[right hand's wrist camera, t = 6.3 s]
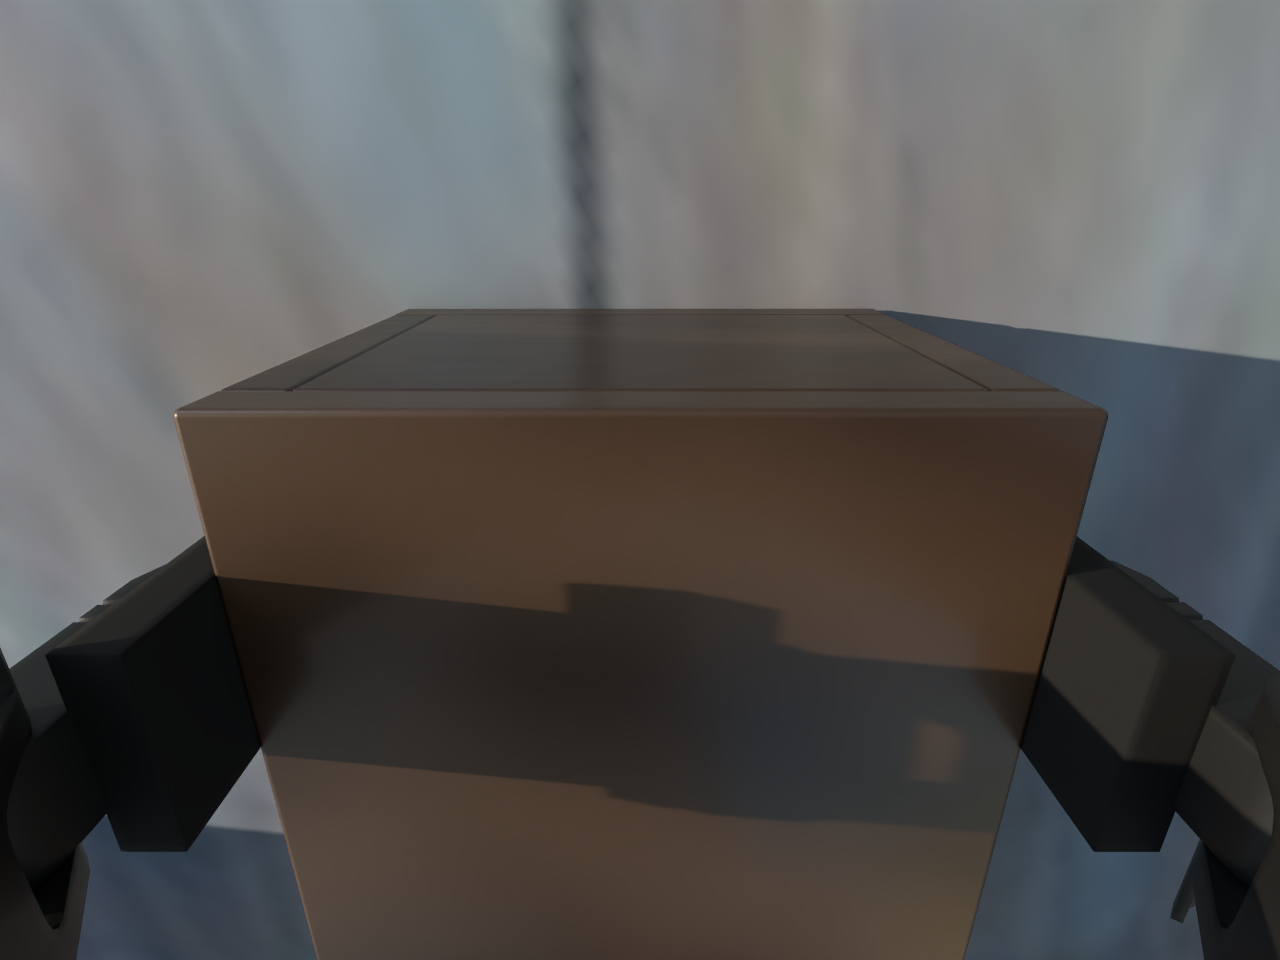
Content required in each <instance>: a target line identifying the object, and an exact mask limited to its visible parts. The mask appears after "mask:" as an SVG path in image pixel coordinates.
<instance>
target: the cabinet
mask: <svg viewBox="0 0 1280 960" xmlns="http://www.w3.org/2000/svg"><path fill="white" fill-rule="evenodd" d="M173 418H174V421H175V425H176V429H177V433H178V436H179V440H180V444H181V448H182V452H183V455H184V459H185V463H186V467H187V470H188V474H189V478H190V482H191V485H192V489H193V493H194V497H195V500H196V504H197V508H198V512H199V516H200V519H201V523H202V527H203V531H204V534H205V538H206V542H207V546H208V549H209V553H210V557H211V561H212V565H213V568H214V572H215V576H216V580H217V583H218V587H219V591H220V595H221V598H222V602H223V606H224V610H225V613H226V617H227V621H228V625H229V629H230V632H231V636H232V640H233V644H234V647H235V651H236V655H237V659H238V662H239V666H240V670H241V674H242V677H243V681H244V685H245V689H246V693H247V696H248V700H249V704H250V708H251V711H252V715H253V719H254V723H255V726H256V730H257V734H258V738H259V742H260V745H261V749H262V753H263V757H264V760H265V764H266V768H267V772H268V775H269V779H270V783H271V787H272V790H273V794H274V798H275V802H276V806H277V809H278V813H279V817H280V821H281V824H282V828H283V832H284V836H285V839H286V843H287V847H288V851H289V855H290V858H291V862H292V866H293V870H294V873H295V877H296V881H297V885H298V888H299V892H300V896H301V900H302V903H303V907H304V911H305V915H306V919H307V922H308V926H309V930H310V934H311V937H312V941H313V945H314V949H315V952H316V956H317V960H964V958H965V954H966V950H967V947H968V943H969V939H970V935H971V932H972V928H973V924H974V920H975V916H976V913H977V909H978V905H979V901H980V898H981V894H982V890H983V886H984V883H985V879H986V875H987V871H988V867H989V864H990V860H991V856H992V852H993V849H994V845H995V841H996V837H997V834H998V830H999V826H1000V822H1001V818H1002V815H1003V811H1004V807H1005V803H1006V800H1007V796H1008V792H1009V788H1010V785H1011V781H1012V777H1013V773H1014V769H1015V766H1016V762H1017V758H1018V754H1019V751H1020V747H1021V743H1022V739H1023V736H1024V732H1025V728H1026V724H1027V720H1028V717H1029V713H1030V709H1031V705H1032V702H1033V698H1034V694H1035V690H1036V687H1037V683H1038V679H1039V675H1040V671H1041V668H1042V664H1043V660H1044V656H1045V653H1046V649H1047V645H1048V641H1049V638H1050V634H1051V630H1052V626H1053V622H1054V619H1055V615H1056V611H1057V607H1058V604H1059V600H1060V596H1061V592H1062V589H1063V585H1064V581H1065V577H1066V574H1067V570H1068V566H1069V562H1070V558H1071V555H1072V551H1073V547H1074V543H1075V540H1076V536H1077V532H1078V528H1079V525H1080V521H1081V517H1082V513H1083V509H1084V506H1085V502H1086V498H1087V494H1088V491H1089V487H1090V483H1091V479H1092V476H1093V472H1094V468H1095V464H1096V460H1097V457H1098V453H1099V449H1100V445H1101V442H1102V438H1103V434H1104V430H1105V427H1106V423H1107V419H1108V414H1107V411H1106V410H1105V409H1102V408H1100V407H1098V406H1095V405H1093V404H1091V403H1088V402H1086V401H1084V400H1081V399H1079V398H1077V397H1075V396H1072V395H1070V394H1068V393H1065V392H1063V391H1060V390H1059V389H1057V388H1054V387H1052V386H1050V385H1047V384H1045V383H1043V382H1040V381H1038V380H1036V379H1033V378H1031V377H1029V376H1026V375H1024V374H1022V373H1020V372H1017V371H1015V370H1013V369H1010V368H1008V367H1006V366H1003V365H1001V364H999V363H996V362H994V361H992V360H989V359H987V358H985V357H982V356H980V355H978V354H975V353H973V352H971V351H968V350H966V349H964V348H961V347H959V346H957V345H954V344H952V343H950V342H947V341H945V340H943V339H940V338H938V337H936V336H933V335H931V334H929V333H926V332H924V331H922V330H919V329H917V328H915V327H913V326H910V325H908V324H906V323H903V322H901V321H899V320H896V319H894V318H892V317H889V316H887V315H886V314H883V313H881V312H879V311H876V310H874V309H408V310H406V311H403V312H401V313H399V314H396V315H395V316H393V317H390V318H388V319H386V320H383V321H381V322H379V323H376V324H374V325H372V326H369V327H367V328H365V329H362V330H360V331H358V332H355V333H353V334H351V335H348V336H346V337H344V338H341V339H339V340H337V341H334V342H332V343H330V344H327V345H325V346H323V347H320V348H318V349H316V350H313V351H311V352H309V353H306V354H304V355H302V356H299V357H297V358H295V359H292V360H290V361H288V362H285V363H283V364H281V365H278V366H276V367H274V368H271V369H269V370H267V371H264V372H262V373H260V374H257V375H255V376H253V377H250V378H248V379H246V380H243V381H241V382H239V383H236V384H234V385H232V386H229V387H227V388H225V389H222V390H221V391H218V392H216V393H214V394H211V395H209V396H207V397H204V398H202V399H200V400H197V401H195V402H193V403H190V404H188V405H186V406H183V407H181V408H179V409H177V410H175V412H174V417H173Z"/></svg>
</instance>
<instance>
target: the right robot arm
mask: <svg viewBox="0 0 1280 960" xmlns="http://www.w3.org/2000/svg"><path fill="white" fill-rule="evenodd" d="M260 747H261V745H260V742H259V738H258V734H257V730H256V726H255V723H254V719H253V715H252V711H251V708H250V704H249V700H248V696H247V693H246V689H245V685H244V681H243V677H242V674H241V670H240V666H239V662H238V659H237V655H236V651H235V647H234V644H233V640H232V636H231V632H230V629H229V625H228V621H227V617H226V613H225V610H224V606H223V602H222V598H221V595H220V591H219V587H218V583H217V580H216V576H215V572H214V568H213V565H212V561H211V557H210V553H209V549H208V546H207V542H206V538H205V536H204V537H203V538H201V539H200V540H198V541H197V542H196V543H194V544H193V545H192V546H190V547H189V548H188V549H186V550H185V551H184V552H182V553H181V554H180V555H178V556H177V557H176V558H174V559H173V560H172V561H170V562H169V563H168V564H166V565H164V566H162V567H159V568H157V569H155V570H153V571H151V572H149V573H146V574H144V575H142V576H140V577H138V578H136V579H133V580H131V581H130V582H128V583H127V584H126V585H124V586H123V587H122V588H120V589H119V590H117V591H116V592H115V593H113V594H112V595H111V596H109V597H108V598H106V599H105V600H104V601H103V605H97V606H95V607H94V608H93V609H91V610H90V611H89V612H87V613H86V614H84V615H83V616H82V617H80V621H79V622H73V623H72V624H71V625H69V626H68V627H66V628H65V629H64V630H62V631H61V632H60V633H58V634H57V635H55V636H54V637H53V638H51V639H50V640H49V641H47V642H46V643H44V644H43V645H42V646H40V647H39V648H38V649H36V650H35V651H33V652H32V653H31V654H29V655H28V656H27V657H25V658H24V659H22V660H21V661H20V662H18V663H17V664H16V665H14V666H13V667H11V668H10V669H9V668H8V665H7V663H6V660H5V658H4V656H3V653H2V651H1V648H0V960H76V957H77V950H78V944H79V938H80V931H81V925H82V918H83V912H84V906H85V899H86V893H87V886H88V880H89V874H90V869H89V864H88V858H87V855H86V853H85V850H84V848H83V846H82V843H81V842H82V841H83V839H84V838H85V837H86V836H87V835H88V834H89V833H90V832H91V830H92V829H93V828H94V827H95V826H96V825H97V824H98V823H99V821H100V820H101V819H102V818H103V817H104V816H105V815H106V813H107V816H108V818H109V821H110V823H111V826H112V829H113V831H114V834H115V836H116V839H117V841H118V844H119V847H120V849H121V852H187V851H188V849H189V848H190V846H191V845H192V844H193V842H194V841H195V839H196V838H197V837H198V835H199V834H200V832H201V831H202V829H203V828H204V827H205V825H206V824H207V822H208V821H209V820H210V818H211V817H212V815H213V814H214V812H215V811H216V810H217V808H218V807H219V805H220V804H221V803H222V801H223V800H224V798H225V797H226V796H227V794H228V793H229V791H230V790H231V788H232V787H233V786H234V784H235V783H236V781H237V780H238V779H239V777H240V776H241V774H242V773H243V771H244V770H245V769H246V767H247V766H248V764H249V763H250V762H251V760H252V759H253V757H254V756H255V755H256V753H257V752H258V750H259V749H260ZM1020 748H1021V749H1022V751H1023V752H1024V753H1025V755H1026V756H1027V758H1028V759H1029V761H1030V762H1031V763H1032V765H1033V766H1034V768H1035V769H1036V770H1037V772H1038V773H1039V775H1040V776H1041V777H1042V779H1043V780H1044V782H1045V783H1046V785H1047V786H1048V787H1049V789H1050V790H1051V792H1052V793H1053V794H1054V796H1055V797H1056V799H1057V800H1058V802H1059V803H1060V804H1061V806H1062V807H1063V809H1064V810H1065V811H1066V813H1067V814H1068V816H1069V817H1070V818H1071V820H1072V821H1073V823H1074V824H1075V826H1076V827H1077V828H1078V830H1079V831H1080V833H1081V834H1082V835H1083V837H1084V838H1085V840H1086V841H1087V843H1088V844H1089V845H1090V847H1091V848H1092V850H1093V851H1094V852H1160V849H1161V847H1162V844H1163V841H1164V839H1165V836H1166V834H1167V831H1168V829H1169V826H1170V823H1171V821H1172V818H1173V816H1174V813H1175V811H1176V812H1177V813H1178V814H1179V815H1180V817H1181V818H1182V819H1183V820H1184V821H1185V822H1186V823H1187V824H1188V826H1189V827H1190V828H1191V829H1192V830H1193V831H1194V832H1195V833H1196V835H1197V836H1198V837H1199V838H1200V841H1199V843H1198V846H1197V848H1196V850H1195V853H1194V855H1193V858H1192V860H1191V862H1190V865H1189V867H1188V870H1187V872H1186V874H1185V877H1184V879H1183V882H1182V884H1181V886H1180V889H1179V891H1178V894H1177V896H1176V898H1175V901H1174V903H1173V908H1172V913H1171V918H1172V919H1174V920H1177V921H1179V922H1181V923H1183V921H1184V918H1185V916H1186V914H1187V911H1188V909H1189V908H1190V907H1193V906H1195V905H1196V909H1197V916H1198V922H1199V929H1200V935H1201V941H1202V948H1203V954H1204V960H1280V671H1279V670H1277V669H1276V668H1275V667H1273V666H1272V665H1271V664H1269V663H1268V662H1266V661H1265V660H1264V659H1262V658H1261V657H1259V656H1258V655H1257V654H1255V653H1254V652H1252V651H1251V650H1250V649H1248V648H1247V647H1246V646H1244V645H1243V644H1241V643H1240V642H1239V641H1237V640H1236V639H1234V638H1233V637H1232V636H1230V635H1229V634H1227V633H1226V632H1225V631H1223V630H1222V629H1221V628H1219V627H1218V626H1216V625H1215V624H1214V623H1212V622H1211V621H1209V620H1203V618H1202V615H1201V614H1200V613H1198V612H1197V611H1196V610H1194V609H1193V608H1191V607H1190V606H1189V605H1187V604H1186V603H1184V602H1179V598H1178V597H1176V596H1175V595H1173V594H1172V593H1171V592H1169V591H1168V590H1166V589H1165V588H1164V587H1162V586H1161V585H1159V584H1158V583H1157V582H1155V581H1154V580H1153V579H1151V578H1149V577H1147V576H1145V575H1143V574H1141V573H1138V572H1136V571H1134V570H1132V569H1130V568H1127V567H1125V566H1123V565H1121V564H1119V563H1117V562H1114V561H1109V560H1108V559H1106V558H1105V557H1104V556H1102V555H1101V554H1100V553H1098V552H1097V551H1096V550H1094V549H1093V548H1092V547H1090V546H1089V545H1088V544H1086V543H1085V542H1084V541H1082V540H1081V539H1080V538H1078V537H1077V536H1076V540H1075V543H1074V547H1073V551H1072V555H1071V558H1070V562H1069V566H1068V570H1067V574H1066V577H1065V581H1064V585H1063V589H1062V592H1061V596H1060V600H1059V604H1058V607H1057V611H1056V615H1055V619H1054V622H1053V626H1052V630H1051V634H1050V638H1049V641H1048V645H1047V649H1046V653H1045V656H1044V660H1043V664H1042V668H1041V671H1040V675H1039V679H1038V683H1037V687H1036V690H1035V694H1034V698H1033V702H1032V705H1031V709H1030V713H1029V717H1028V720H1027V724H1026V728H1025V732H1024V736H1023V739H1022V743H1021V747H1020Z"/></svg>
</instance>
